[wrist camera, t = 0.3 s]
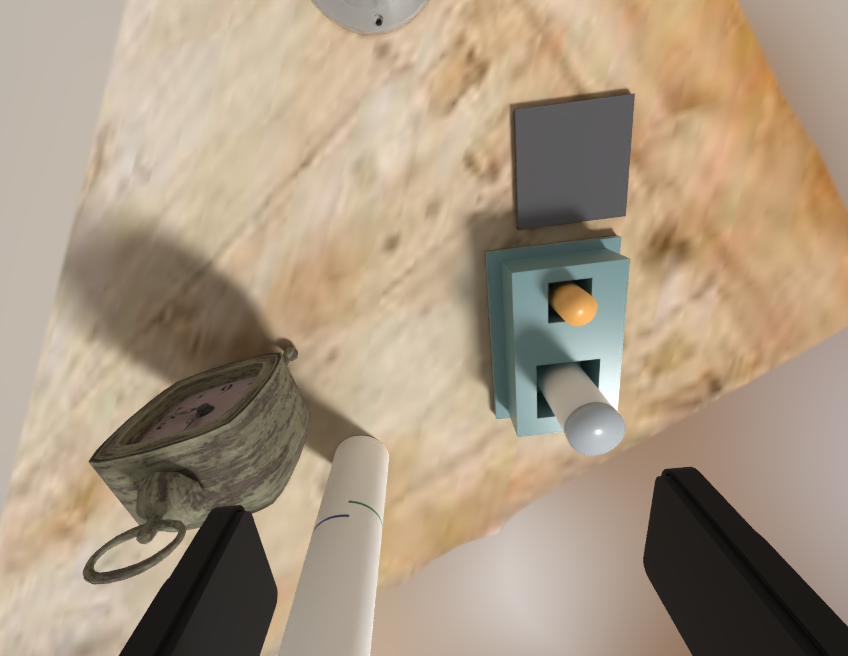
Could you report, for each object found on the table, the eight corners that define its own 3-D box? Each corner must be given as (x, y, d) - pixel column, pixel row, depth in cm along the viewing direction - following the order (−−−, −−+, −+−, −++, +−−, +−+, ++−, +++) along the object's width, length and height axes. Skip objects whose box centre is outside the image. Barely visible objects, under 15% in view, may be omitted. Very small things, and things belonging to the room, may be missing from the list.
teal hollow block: (485, 251, 42) (495, 264, 36) (616, 235, 42) (647, 246, 36) (495, 414, 50) (504, 445, 45) (605, 402, 50) (628, 432, 44)
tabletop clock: (301, 332, 45) (182, 506, 22) (331, 396, 49) (253, 605, 26) (189, 365, 47) (-34, 561, 24) (225, 425, 50) (61, 648, 27)
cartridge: (530, 350, 46) (568, 411, 34) (574, 345, 45) (627, 405, 34) (531, 388, 47) (567, 458, 36) (573, 383, 47) (623, 452, 36)
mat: (513, 110, 37) (515, 109, 36) (631, 94, 37) (634, 93, 36) (517, 228, 41) (518, 229, 41) (622, 215, 41) (625, 216, 40)
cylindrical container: (330, 437, 51) (259, 663, 28) (385, 432, 51) (358, 655, 28) (340, 480, 54) (282, 717, 31) (392, 475, 54) (373, 710, 31)
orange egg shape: (547, 281, 39) (562, 295, 35) (579, 278, 39) (598, 291, 35) (547, 311, 40) (561, 328, 36) (578, 308, 40) (596, 324, 36)
